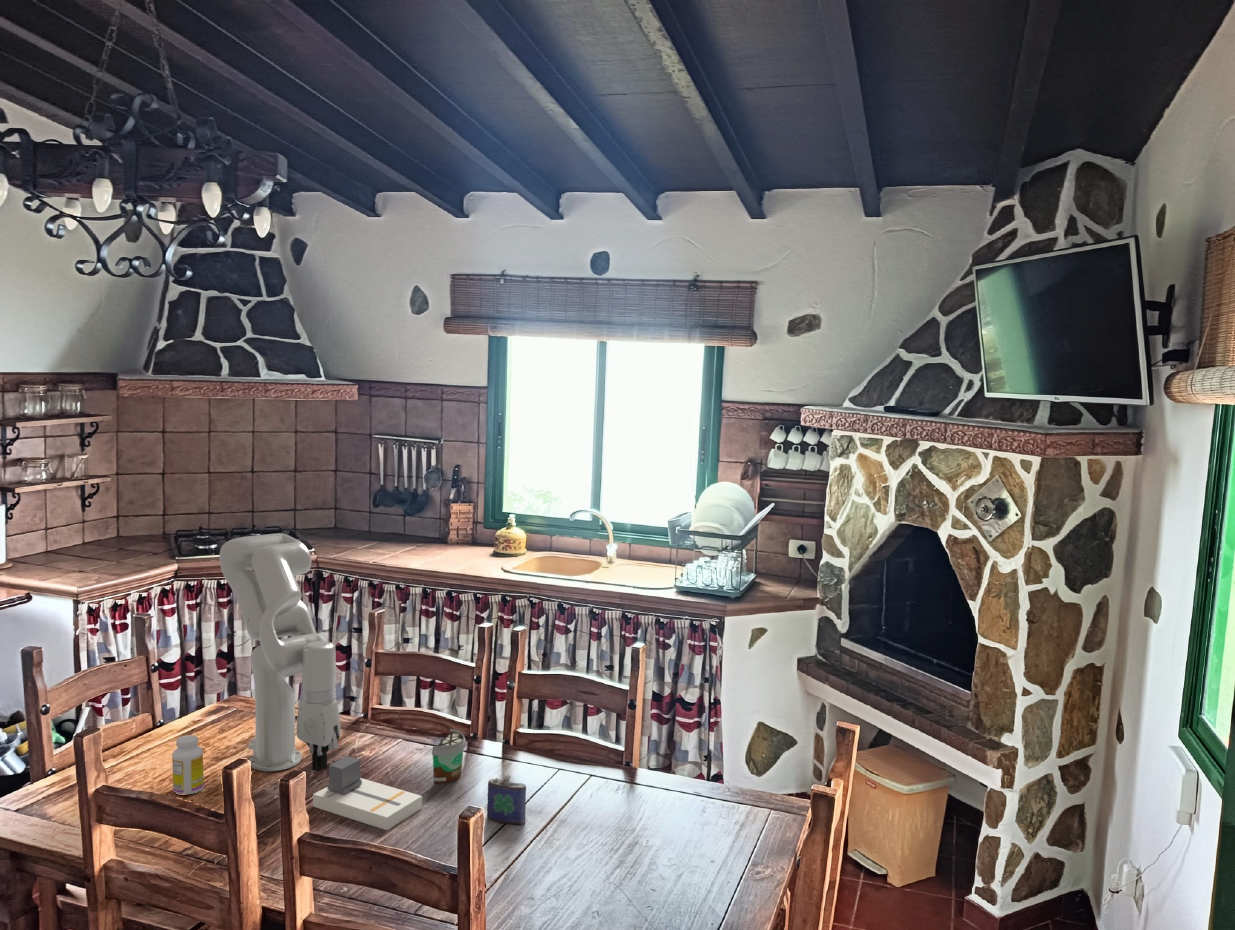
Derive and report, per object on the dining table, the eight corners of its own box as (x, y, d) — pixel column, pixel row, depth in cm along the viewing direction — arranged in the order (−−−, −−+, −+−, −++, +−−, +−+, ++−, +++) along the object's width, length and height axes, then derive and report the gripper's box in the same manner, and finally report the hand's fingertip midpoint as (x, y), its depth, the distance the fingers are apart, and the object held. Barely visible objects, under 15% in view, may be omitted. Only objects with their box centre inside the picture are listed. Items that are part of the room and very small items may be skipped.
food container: (455, 789, 227) (455, 749, 226) (431, 786, 228) (431, 747, 227) (472, 768, 239) (473, 730, 238) (450, 765, 240) (450, 728, 239)
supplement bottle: (205, 783, 226) (204, 732, 225) (202, 795, 220) (201, 742, 219) (175, 786, 224) (174, 734, 223) (170, 798, 218) (169, 745, 217)
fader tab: (327, 789, 218) (327, 764, 217) (345, 779, 223) (345, 755, 222) (343, 794, 216) (343, 769, 215) (361, 784, 221) (361, 760, 220)
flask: (527, 821, 212) (527, 776, 211) (522, 827, 210) (523, 781, 208) (489, 814, 215) (490, 770, 214) (484, 820, 212) (484, 775, 211)
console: (313, 806, 216) (313, 793, 216) (349, 786, 227) (349, 774, 226) (387, 830, 206) (387, 817, 206) (421, 808, 217) (421, 795, 217)
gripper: (283, 693, 221) (284, 767, 223) (331, 705, 214) (331, 781, 216) (307, 684, 227) (308, 756, 229) (354, 695, 221) (354, 770, 223)
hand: (319, 768), depth 223 cm, fingers closed
